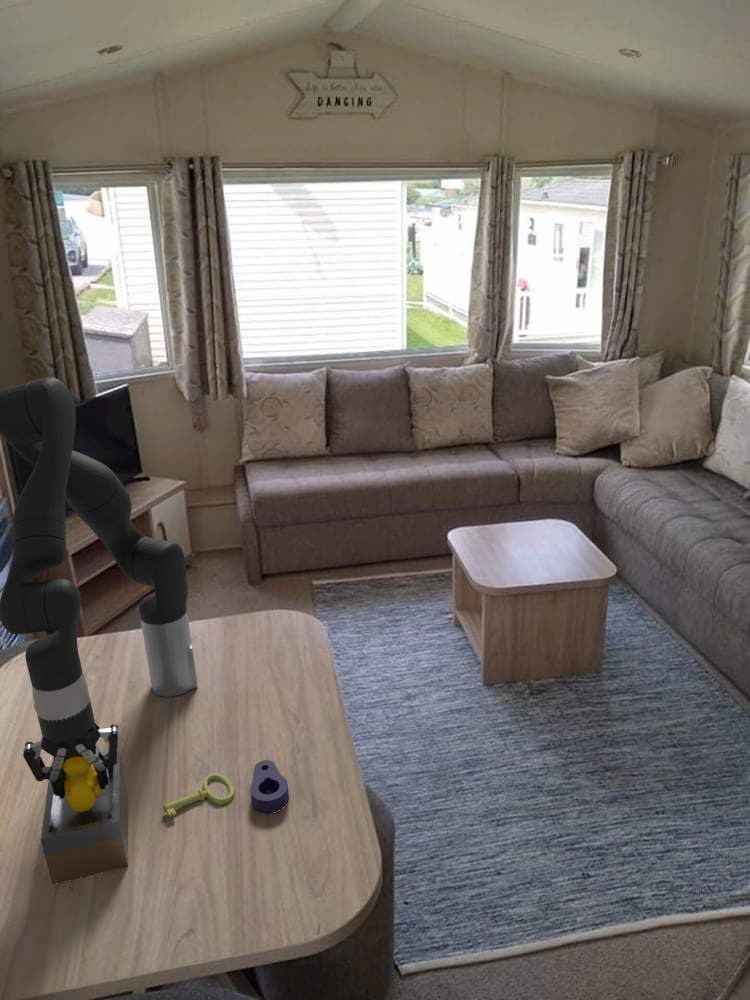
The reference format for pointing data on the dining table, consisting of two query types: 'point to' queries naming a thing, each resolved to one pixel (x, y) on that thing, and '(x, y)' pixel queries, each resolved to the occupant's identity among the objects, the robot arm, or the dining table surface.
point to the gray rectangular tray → (87, 831)
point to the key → (203, 795)
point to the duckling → (80, 784)
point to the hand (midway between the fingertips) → (82, 789)
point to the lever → (268, 788)
